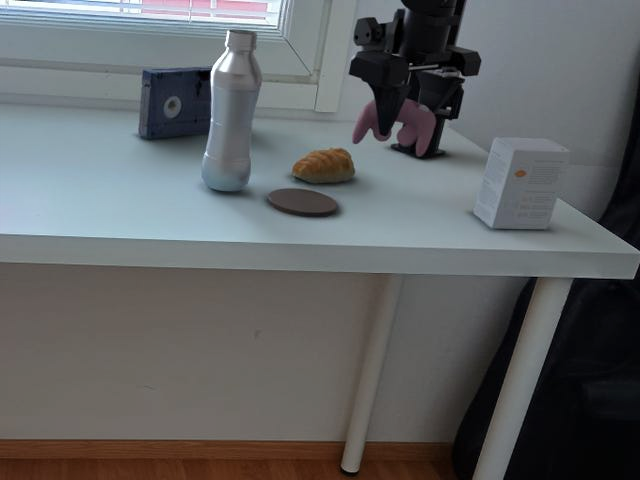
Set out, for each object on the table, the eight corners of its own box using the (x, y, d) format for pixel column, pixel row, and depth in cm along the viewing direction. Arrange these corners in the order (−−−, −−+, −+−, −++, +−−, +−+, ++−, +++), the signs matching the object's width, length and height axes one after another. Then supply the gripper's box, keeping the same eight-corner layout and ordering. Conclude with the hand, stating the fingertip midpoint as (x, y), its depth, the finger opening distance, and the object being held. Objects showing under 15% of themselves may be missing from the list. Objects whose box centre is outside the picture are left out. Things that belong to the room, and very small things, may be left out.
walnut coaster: (302, 188, 117) (303, 184, 117) (350, 210, 111) (351, 206, 111) (253, 197, 112) (254, 193, 112) (301, 221, 106) (302, 216, 106)
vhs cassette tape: (229, 125, 142) (237, 63, 137) (240, 130, 140) (248, 68, 135) (135, 134, 133) (140, 68, 128) (145, 139, 131) (150, 73, 126)
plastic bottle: (234, 200, 111) (256, 39, 100) (189, 188, 113) (206, 30, 103) (256, 188, 115) (278, 33, 105) (212, 176, 118) (230, 25, 108)
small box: (526, 214, 115) (550, 138, 110) (547, 230, 111) (574, 151, 105) (471, 213, 114) (493, 135, 109) (490, 229, 109) (514, 148, 104)
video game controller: (427, 162, 110) (443, 107, 109) (423, 156, 106) (439, 100, 105) (354, 147, 114) (368, 94, 113) (347, 141, 110) (362, 87, 109)
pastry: (313, 189, 117) (318, 162, 115) (278, 175, 122) (282, 148, 120) (357, 179, 123) (362, 153, 121) (322, 166, 127) (326, 140, 125)
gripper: (426, -9, 112) (400, 110, 120) (327, -7, 102) (306, 123, 110) (498, 6, 105) (465, 132, 113) (399, 10, 95) (370, 147, 103)
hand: (401, 132), depth 110 cm, fingers closed on video game controller, 7 cm apart
